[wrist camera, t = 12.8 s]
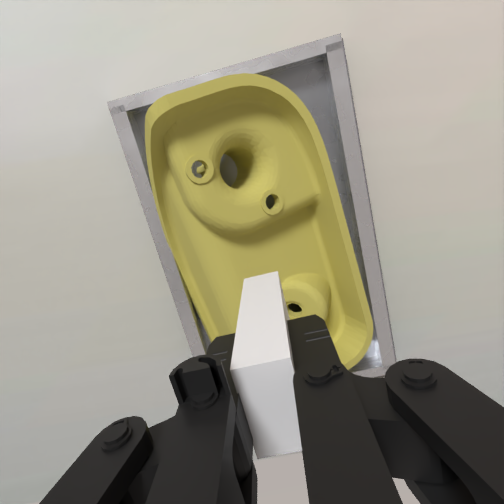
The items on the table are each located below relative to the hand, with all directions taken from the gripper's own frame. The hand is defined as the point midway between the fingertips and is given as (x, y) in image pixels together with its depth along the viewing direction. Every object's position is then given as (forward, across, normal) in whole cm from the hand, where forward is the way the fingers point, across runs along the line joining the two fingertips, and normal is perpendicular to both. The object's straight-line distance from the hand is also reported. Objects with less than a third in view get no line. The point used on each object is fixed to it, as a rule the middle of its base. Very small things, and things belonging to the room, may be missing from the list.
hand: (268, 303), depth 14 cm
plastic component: (+11, 0, 0) cm, 11 cm away
